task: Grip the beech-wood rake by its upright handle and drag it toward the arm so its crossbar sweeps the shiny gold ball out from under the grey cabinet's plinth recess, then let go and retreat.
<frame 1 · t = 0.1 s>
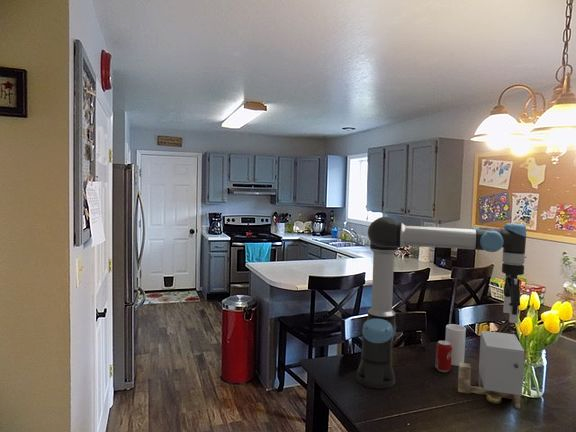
hand: (510, 317, 163), 28 cm above the table, fingers open, 13 cm apart
rake: (463, 390, 161), on the table
beverage can: (442, 370, 180), on the table
cabinet: (498, 396, 158), on the table
cup: (454, 362, 189), on the table
shiny gold ball: (493, 400, 155), on the table
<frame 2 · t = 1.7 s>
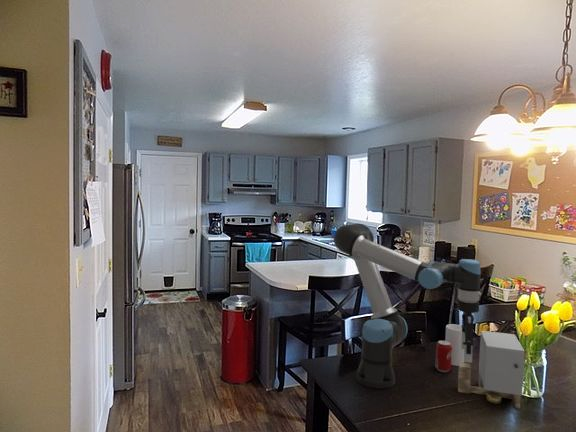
hand: (466, 355, 160), 14 cm above the table, fingers open, 13 cm apart
nothing on the table moved.
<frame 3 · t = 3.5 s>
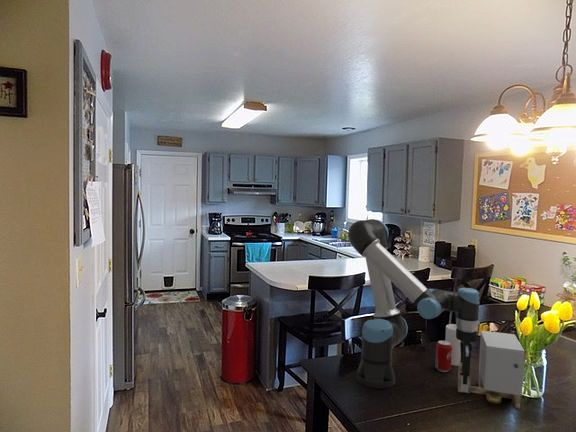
hand: (463, 388, 161), 1 cm above the table, fingers closed on rake, 4 cm apart
rake: (463, 390, 161), on the table, touching gripper
everything else where it was.
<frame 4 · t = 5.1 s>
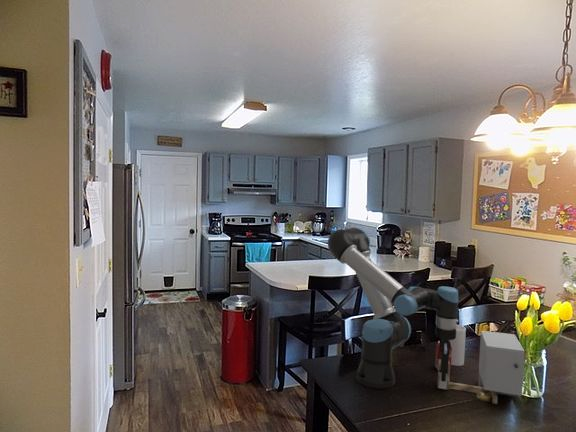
hand: (442, 385, 164), 0 cm above the table, fingers closed on rake, 4 cm apart
rake: (443, 386, 164), on the table, touching gripper, shiny gold ball
shiny gold ball: (483, 398, 156), on the table, touching rake
everything else where it was.
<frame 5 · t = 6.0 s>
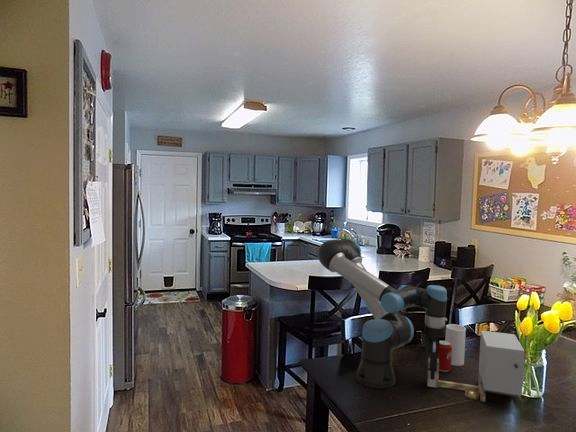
hand: (431, 383, 165), 1 cm above the table, fingers closed on rake, 4 cm apart
rake: (432, 384, 165), on the table, touching gripper
shiny gold ball: (472, 396, 157), on the table
everything else where it was.
when the fingers open (1 cm above the table, at t = 6.9 s): rake stays where it is, on the table.
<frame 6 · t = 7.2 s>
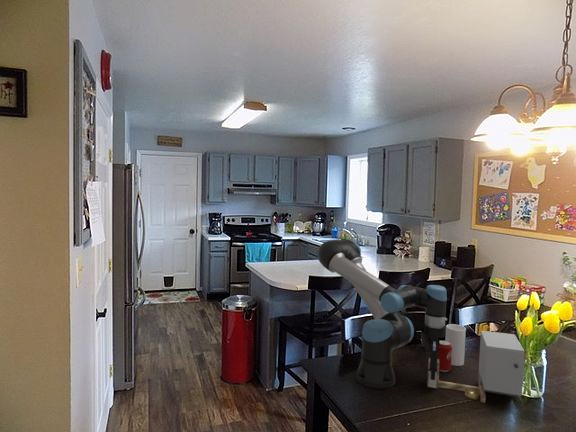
hand: (432, 382, 165), 1 cm above the table, fingers open, 8 cm apart
rake: (432, 385, 165), on the table
everything else where it was.
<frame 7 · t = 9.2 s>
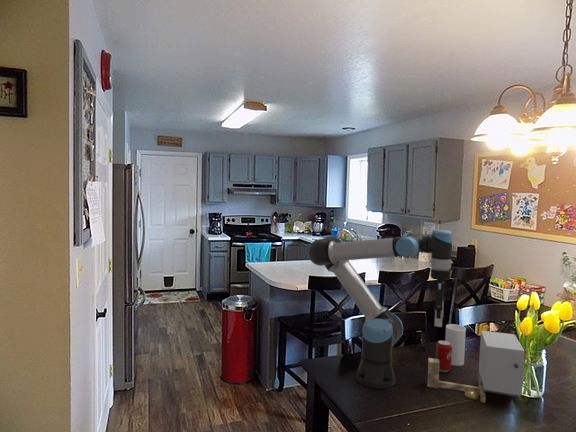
hand: (438, 321, 168), 24 cm above the table, fingers open, 13 cm apart
nothing on the table moved.
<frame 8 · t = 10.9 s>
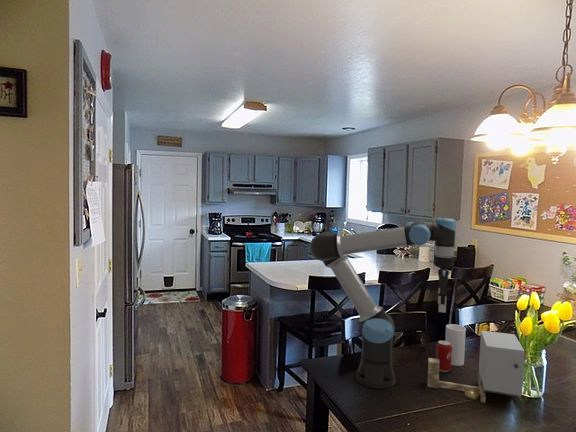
hand: (441, 307, 172), 29 cm above the table, fingers open, 13 cm apart
nothing on the table moved.
at the end: shiny gold ball inside the target area (4.5 cm from its centre), on the table; shiny gold ball moved 7.3 cm from its start; the gripper is holding nothing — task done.
